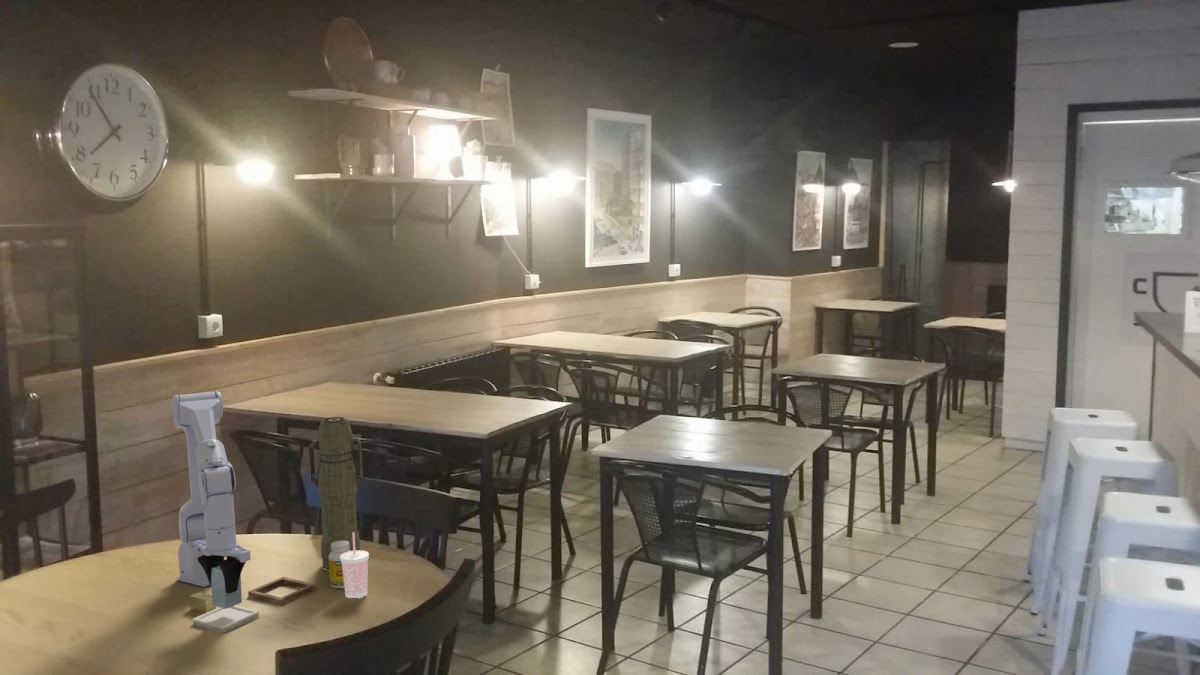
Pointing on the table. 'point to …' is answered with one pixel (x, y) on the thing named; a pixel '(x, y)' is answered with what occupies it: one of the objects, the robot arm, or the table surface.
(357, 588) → the beverage cup
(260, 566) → the table surface
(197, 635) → the table surface
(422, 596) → the table surface
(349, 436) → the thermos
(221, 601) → the brushed metal block
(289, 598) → the socket
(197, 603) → the bar
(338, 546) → the supplement bottle
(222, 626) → the tray
